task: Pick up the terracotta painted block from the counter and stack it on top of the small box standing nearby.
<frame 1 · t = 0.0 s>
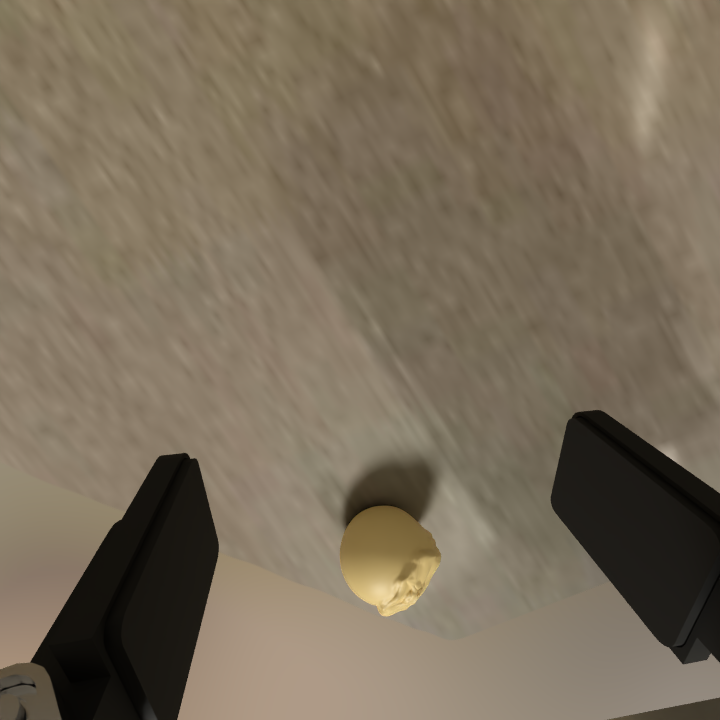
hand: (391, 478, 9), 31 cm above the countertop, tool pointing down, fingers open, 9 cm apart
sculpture: (379, 524, 53), on the countertop
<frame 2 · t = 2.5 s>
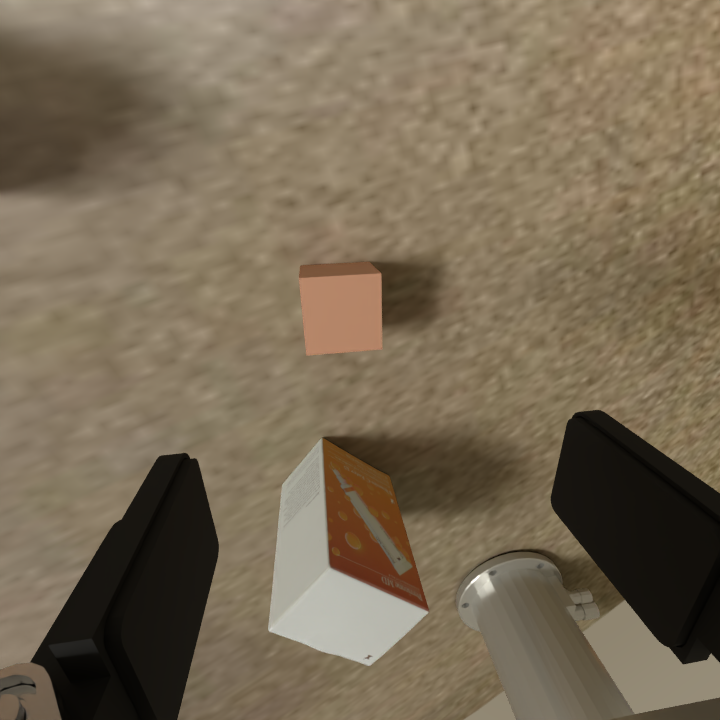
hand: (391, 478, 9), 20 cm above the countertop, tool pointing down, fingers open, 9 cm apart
small box: (336, 477, 35), on the countertop
terracotta block: (337, 297, 28), on the countertop
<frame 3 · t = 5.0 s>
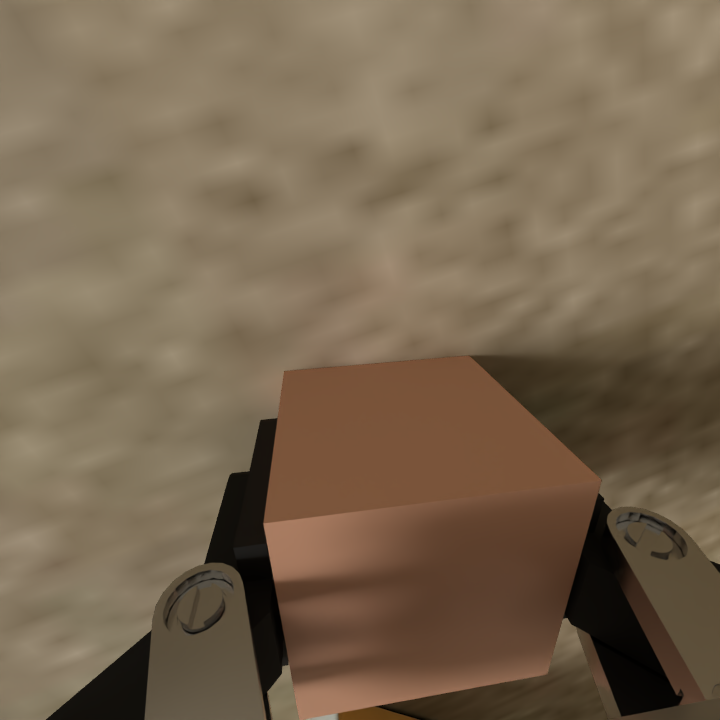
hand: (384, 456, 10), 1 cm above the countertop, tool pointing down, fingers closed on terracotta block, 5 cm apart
terracotta block: (380, 441, 11), on the countertop, touching gripper
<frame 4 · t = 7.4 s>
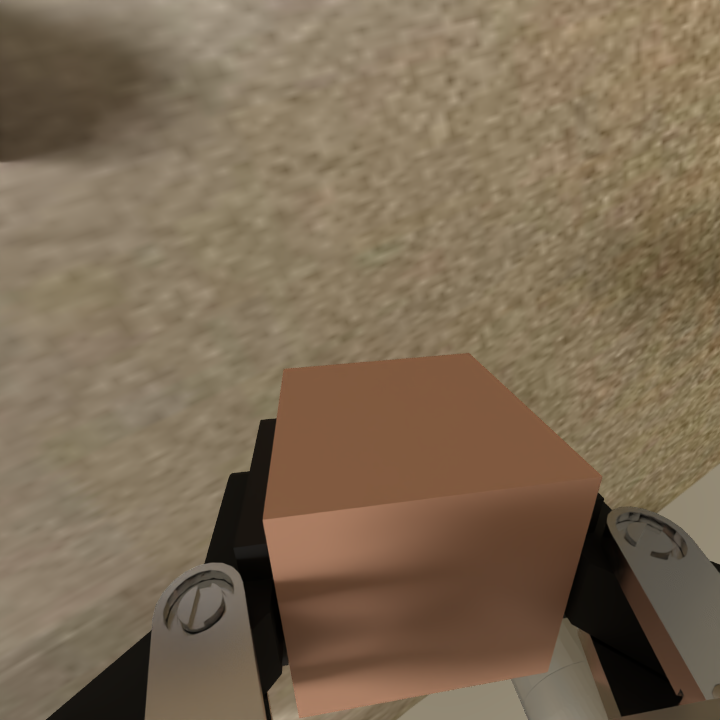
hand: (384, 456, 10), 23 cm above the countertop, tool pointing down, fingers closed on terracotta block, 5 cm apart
terracotta block: (380, 439, 11), point 22 cm above the countertop, touching gripper
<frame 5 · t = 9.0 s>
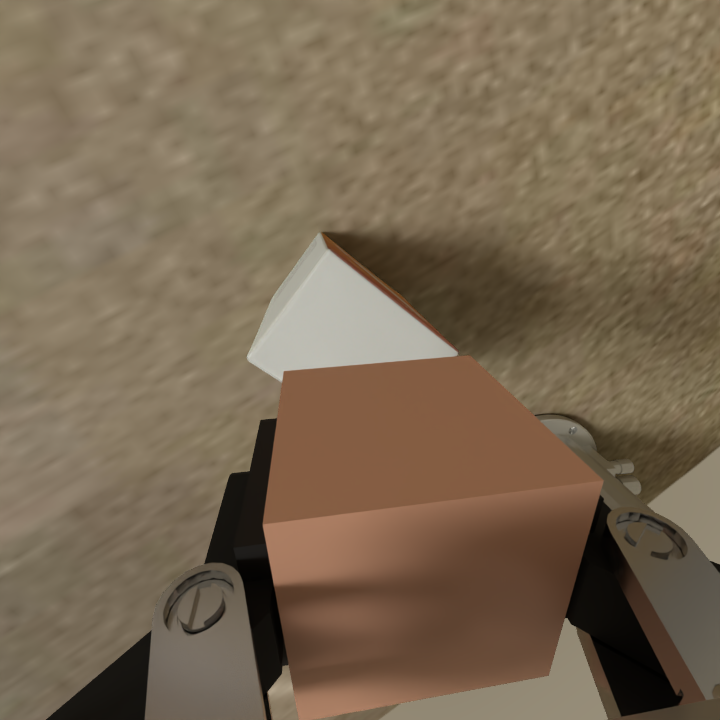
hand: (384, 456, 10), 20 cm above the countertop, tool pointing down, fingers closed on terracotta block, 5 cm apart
small box: (337, 294, 29), on the countertop
terracotta block: (380, 441, 11), point 20 cm above the countertop, touching gripper
when the fingers open (15 cm above the countertop, at t = 10.3 s): terracotta block drops 1 cm, resting on small box.
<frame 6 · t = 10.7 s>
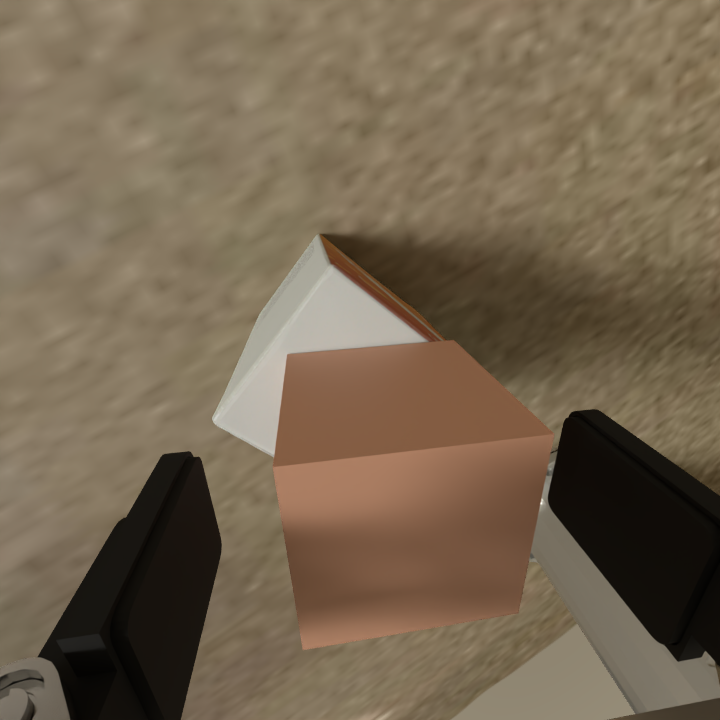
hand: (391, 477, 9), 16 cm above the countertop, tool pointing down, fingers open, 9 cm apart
small box: (339, 310, 24), on the countertop, touching terracotta block
terracotta block: (374, 419, 12), point 13 cm above the countertop, touching small box
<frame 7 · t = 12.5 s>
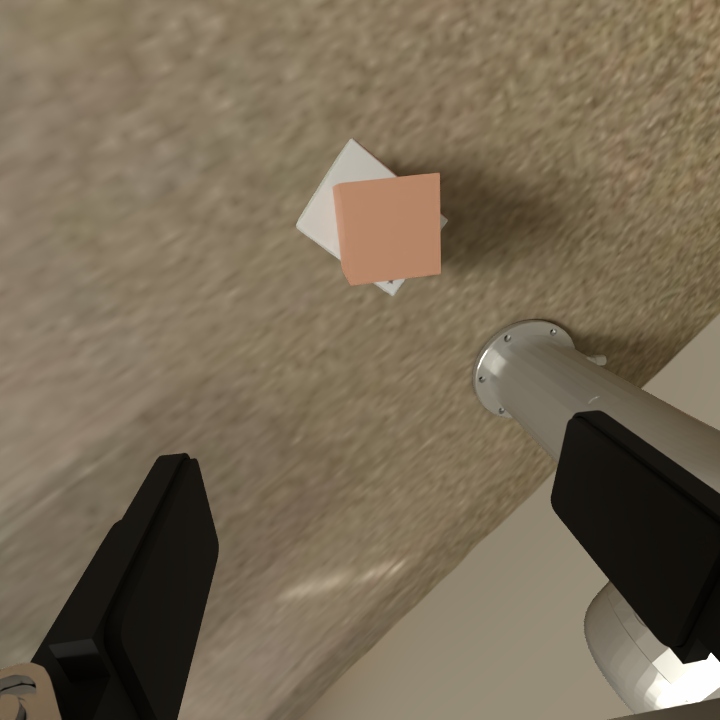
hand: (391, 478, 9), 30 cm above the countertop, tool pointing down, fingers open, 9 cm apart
small box: (350, 216, 36), on the countertop, touching terracotta block
terracotta block: (376, 225, 24), point 13 cm above the countertop, touching small box
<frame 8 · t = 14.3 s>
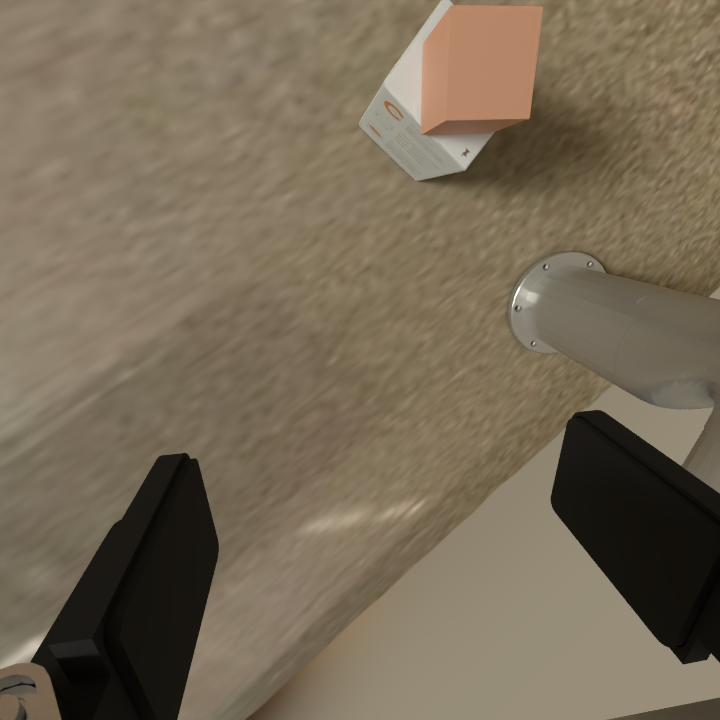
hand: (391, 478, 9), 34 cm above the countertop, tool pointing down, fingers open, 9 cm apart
small box: (407, 127, 37), on the countertop, touching terracotta block
terracotta block: (458, 90, 25), point 13 cm above the countertop, touching small box
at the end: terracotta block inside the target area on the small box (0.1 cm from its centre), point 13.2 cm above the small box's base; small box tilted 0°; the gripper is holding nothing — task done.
